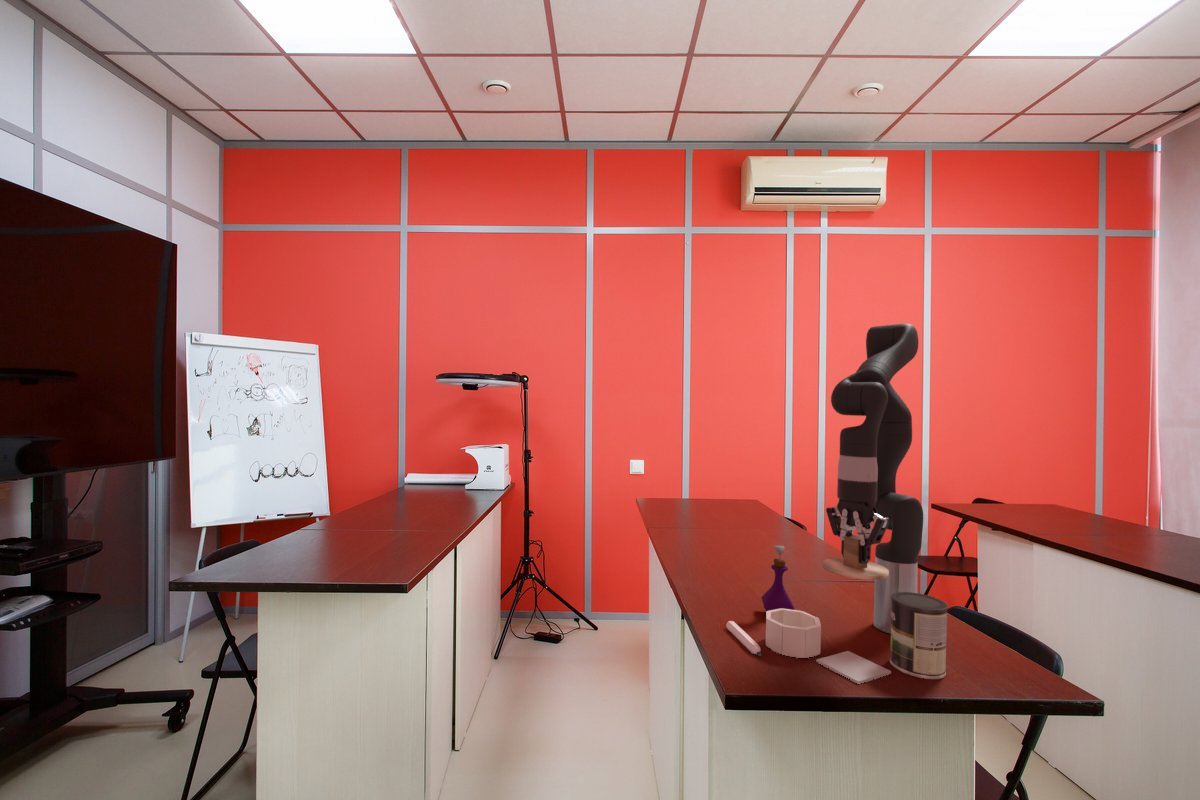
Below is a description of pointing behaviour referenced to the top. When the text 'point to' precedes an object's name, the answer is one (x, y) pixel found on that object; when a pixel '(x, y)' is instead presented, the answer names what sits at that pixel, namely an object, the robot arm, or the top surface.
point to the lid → (854, 563)
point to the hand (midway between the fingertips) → (855, 560)
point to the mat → (853, 667)
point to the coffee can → (918, 635)
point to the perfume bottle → (777, 586)
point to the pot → (793, 633)
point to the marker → (743, 638)
